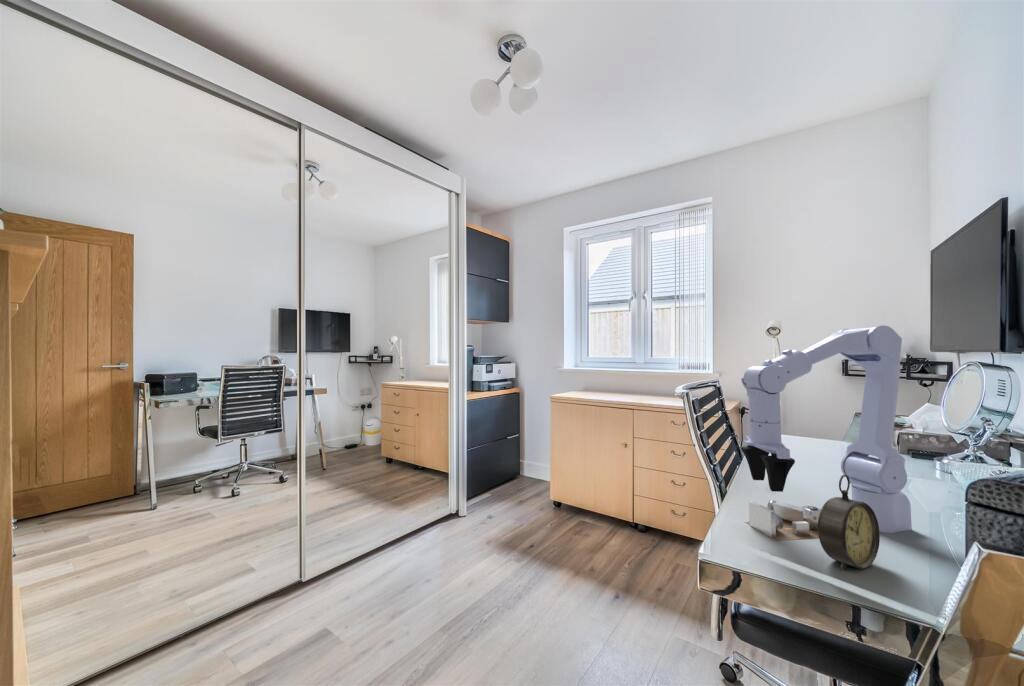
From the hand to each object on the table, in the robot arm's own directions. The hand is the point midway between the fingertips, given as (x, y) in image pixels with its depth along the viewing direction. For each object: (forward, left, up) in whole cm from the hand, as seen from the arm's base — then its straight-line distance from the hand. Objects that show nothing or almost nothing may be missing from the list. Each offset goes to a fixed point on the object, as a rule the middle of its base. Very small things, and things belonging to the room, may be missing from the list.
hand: (767, 485), depth 83 cm
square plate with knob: (-1, +1, -9) cm, 9 cm away
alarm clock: (-3, +15, -10) cm, 18 cm away
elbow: (-8, -2, -9) cm, 12 cm away
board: (-5, +1, -10) cm, 11 cm away
